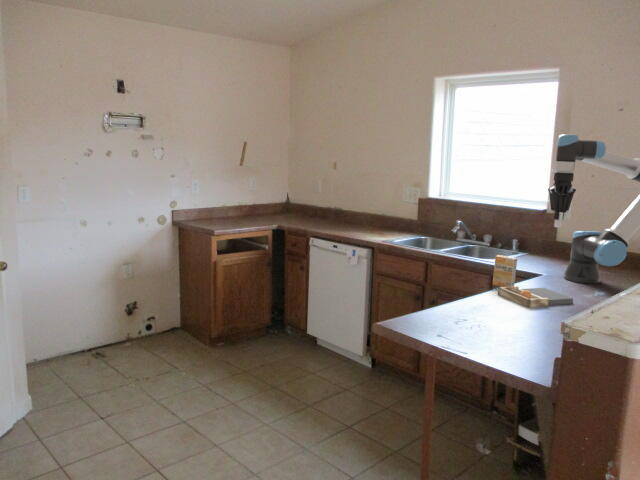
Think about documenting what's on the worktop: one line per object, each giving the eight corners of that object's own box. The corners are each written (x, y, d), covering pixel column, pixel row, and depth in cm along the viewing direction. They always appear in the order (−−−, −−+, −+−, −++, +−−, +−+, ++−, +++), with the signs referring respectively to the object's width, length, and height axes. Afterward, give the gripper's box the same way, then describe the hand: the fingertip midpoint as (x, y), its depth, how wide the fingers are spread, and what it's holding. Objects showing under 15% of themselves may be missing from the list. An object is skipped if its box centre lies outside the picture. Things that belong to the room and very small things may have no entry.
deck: (543, 292, 221) (544, 287, 221) (572, 303, 206) (573, 298, 206) (517, 293, 217) (518, 289, 216) (545, 305, 202) (546, 300, 202)
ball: (523, 300, 210) (528, 291, 210) (529, 303, 207) (535, 294, 206) (516, 295, 209) (522, 287, 209) (522, 298, 205) (528, 290, 205)
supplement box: (491, 285, 229) (494, 256, 227) (495, 283, 233) (498, 254, 231) (510, 289, 224) (514, 259, 222) (514, 287, 228) (517, 257, 226)
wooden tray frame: (516, 293, 218) (517, 286, 217) (547, 306, 201) (548, 298, 200) (498, 294, 215) (498, 287, 214) (528, 307, 198) (529, 299, 198)
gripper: (569, 171, 228) (563, 225, 232) (545, 171, 223) (539, 226, 227) (583, 172, 221) (576, 228, 225) (558, 172, 216) (551, 228, 220)
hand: (557, 227), depth 226 cm, fingers closed
